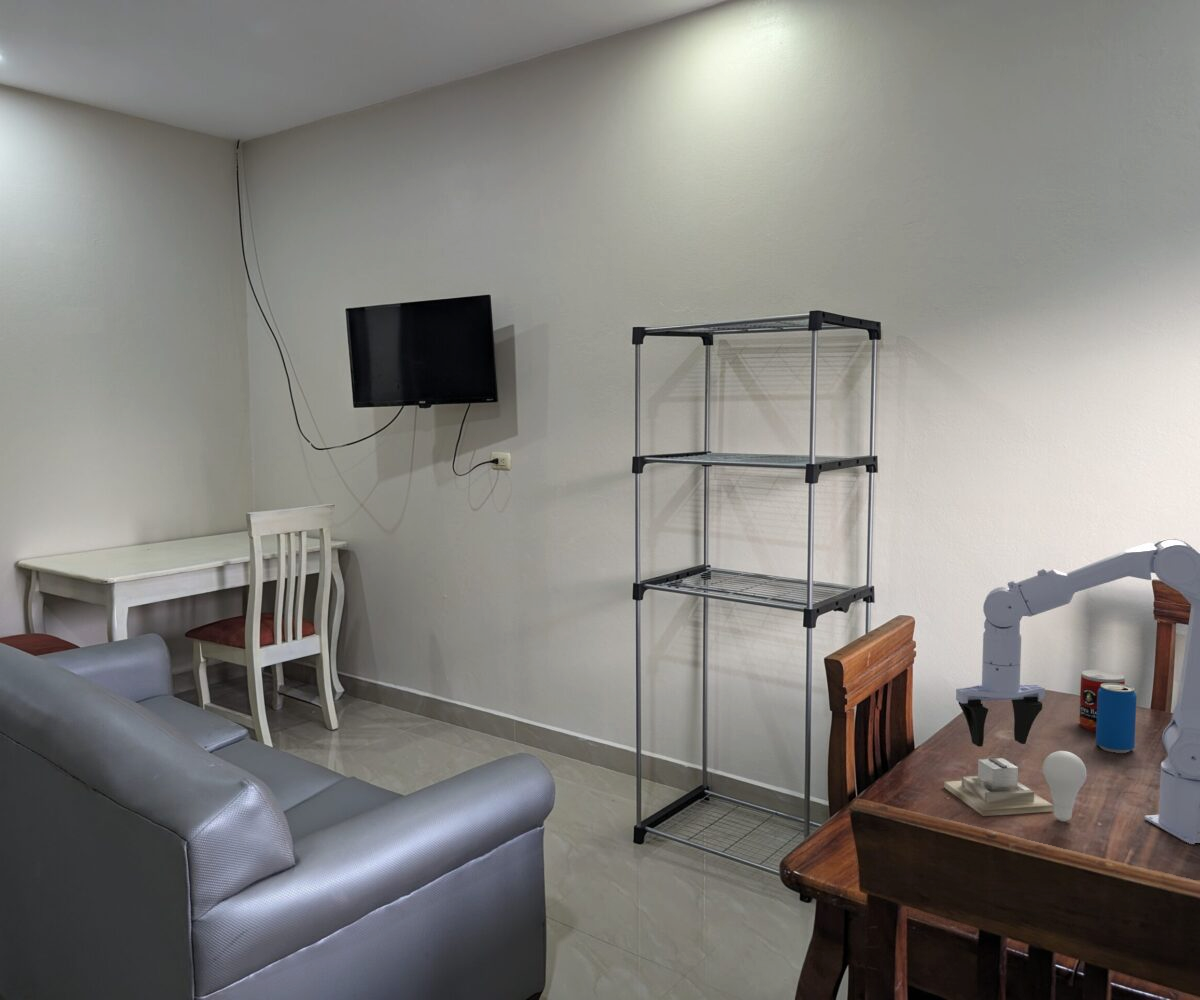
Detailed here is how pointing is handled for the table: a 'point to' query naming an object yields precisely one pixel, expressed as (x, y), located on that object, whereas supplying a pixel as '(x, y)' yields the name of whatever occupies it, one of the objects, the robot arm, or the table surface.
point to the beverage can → (1116, 717)
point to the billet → (997, 775)
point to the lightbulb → (1064, 781)
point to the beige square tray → (997, 798)
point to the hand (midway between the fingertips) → (998, 743)
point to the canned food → (1094, 694)
